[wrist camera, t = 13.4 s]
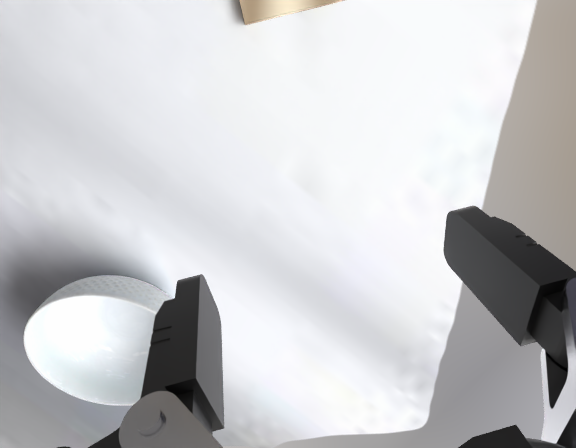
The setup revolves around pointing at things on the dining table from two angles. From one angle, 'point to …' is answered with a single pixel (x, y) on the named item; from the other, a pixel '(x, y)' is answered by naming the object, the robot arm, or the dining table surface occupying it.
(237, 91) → the dining table surface
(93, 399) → the cereal bowl
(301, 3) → the socket
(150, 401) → the robot arm
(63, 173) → the dining table surface
